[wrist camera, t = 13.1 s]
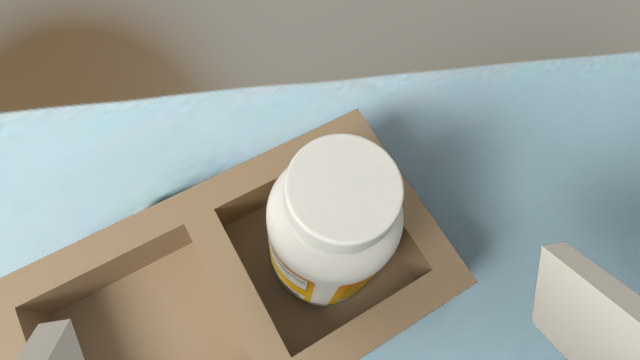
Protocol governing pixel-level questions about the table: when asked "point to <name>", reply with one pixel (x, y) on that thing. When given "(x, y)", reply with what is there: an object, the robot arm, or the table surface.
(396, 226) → the supplement bottle
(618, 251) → the table surface
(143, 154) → the table surface
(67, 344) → the robot arm
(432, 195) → the table surface
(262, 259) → the divided compartment tray
